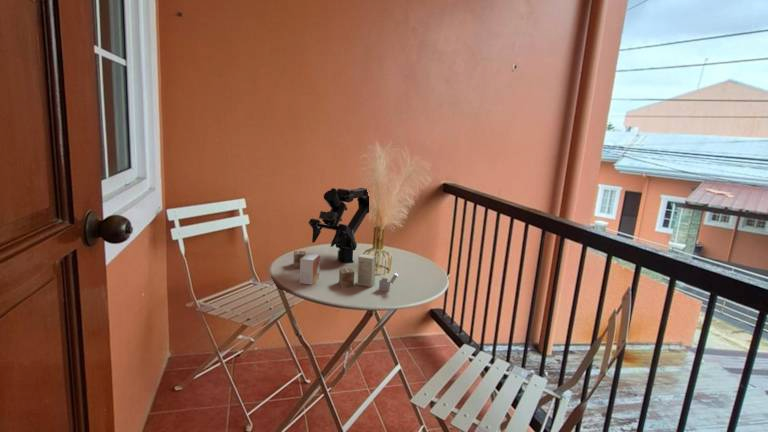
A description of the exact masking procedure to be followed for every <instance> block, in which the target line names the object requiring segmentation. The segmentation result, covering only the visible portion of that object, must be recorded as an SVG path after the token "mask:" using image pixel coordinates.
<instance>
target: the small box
mask: <svg viewBox="0 0 768 432" xmlns="http://www.w3.org/2000/svg"><path fill="white" fill-rule="evenodd" d="M320 263H321V254H316V253H310V252H307V253H306V255H305V256H304V257H302V258H301V259H300V268H299V284H305V285H314V283H316V282H317V281H318V280H319V279H320V266H321V265H320Z"/></svg>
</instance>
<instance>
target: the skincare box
mask: <svg viewBox="0 0 768 432" xmlns="http://www.w3.org/2000/svg"><path fill="white" fill-rule="evenodd" d="M357 260H358V261H357V285H358V286H364V287H369V288H372V286H374V285H375V281H376V255H372V254H365V253H361V254H360V255H359V256H358V259H357Z"/></svg>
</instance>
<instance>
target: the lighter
mask: <svg viewBox="0 0 768 432" xmlns="http://www.w3.org/2000/svg"><path fill="white" fill-rule="evenodd" d="M398 276H399V273H397V272H395V273H394V274H393V276H392V277H391V279H390V280H389V278H388V277H382V278H380V279H379V284H378V291H380V292H385V293H386V292H387V293H389V292H390V291H391V285H392V284H394V282H395V280H396V279H397V278H398Z"/></svg>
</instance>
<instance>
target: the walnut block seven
mask: <svg viewBox="0 0 768 432" xmlns="http://www.w3.org/2000/svg"><path fill="white" fill-rule="evenodd" d="M306 254H307V253H306V250H303V251H301V250H296V251H293V266H294V268H295V269H296V268H297V269H298V268H299V269H300V259H301V258H302V257H304V256H305V255H306Z"/></svg>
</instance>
